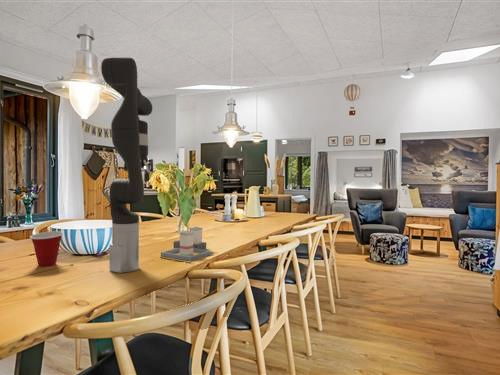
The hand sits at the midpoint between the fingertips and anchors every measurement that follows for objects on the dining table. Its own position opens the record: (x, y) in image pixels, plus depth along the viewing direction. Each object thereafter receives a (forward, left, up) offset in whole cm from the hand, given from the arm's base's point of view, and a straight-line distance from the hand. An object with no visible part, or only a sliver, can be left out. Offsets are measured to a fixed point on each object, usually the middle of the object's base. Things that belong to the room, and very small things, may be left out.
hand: (139, 181), depth 146 cm
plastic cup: (-32, +14, -32) cm, 48 cm away
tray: (+6, -22, -32) cm, 39 cm away
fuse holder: (+18, -14, -32) cm, 39 cm away
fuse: (+18, -18, -31) cm, 40 cm away
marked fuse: (+6, -22, -31) cm, 39 cm away
